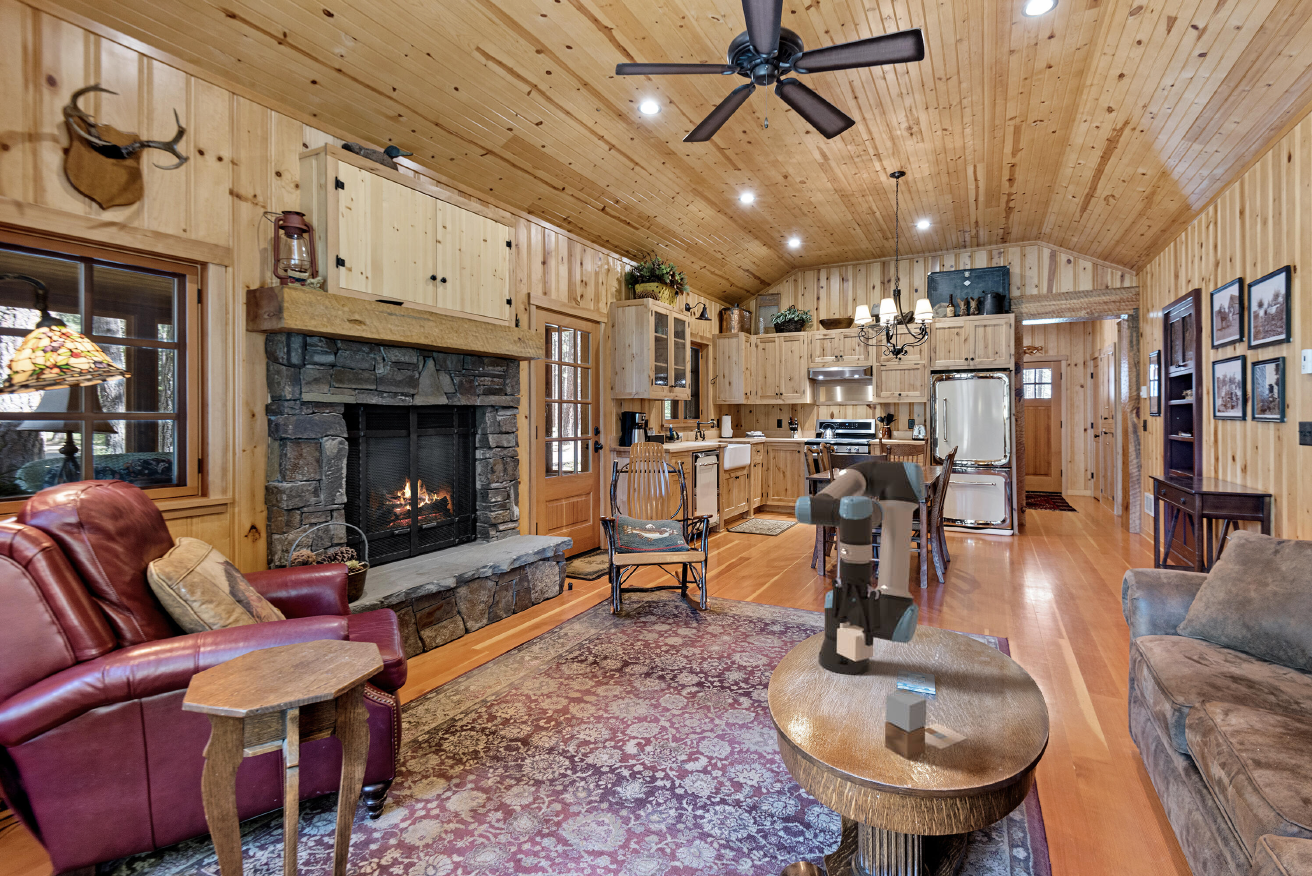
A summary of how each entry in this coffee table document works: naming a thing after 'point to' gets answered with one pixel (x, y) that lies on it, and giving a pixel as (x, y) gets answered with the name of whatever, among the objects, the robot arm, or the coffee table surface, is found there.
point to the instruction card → (941, 736)
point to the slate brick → (906, 710)
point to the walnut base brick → (904, 740)
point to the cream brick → (850, 642)
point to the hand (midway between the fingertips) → (855, 652)
